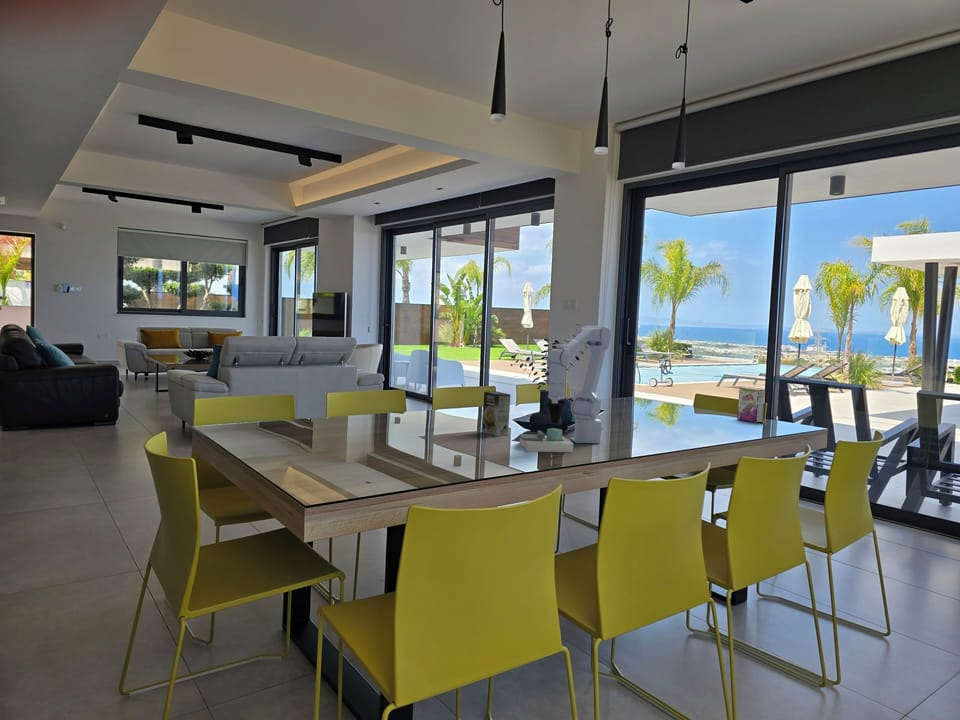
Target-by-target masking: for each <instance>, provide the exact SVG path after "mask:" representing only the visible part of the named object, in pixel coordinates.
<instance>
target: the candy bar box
mask: <svg viewBox="0 0 960 720" xmlns="http://www.w3.org/2000/svg"><path fill="white" fill-rule="evenodd" d="M765 392H766V391H765V389H761V388H755V387H749V386H740V387H739V389H738V404H737V405H738V407H737V418H736V419H737V420H739V419H740V421H744V420H745V422H749V421H750V423H754V422H756V423H755V424H758V423H757V422H762V423H763V417H764V403H765Z"/></svg>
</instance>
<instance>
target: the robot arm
mask: <svg viewBox="0 0 960 720" xmlns="http://www.w3.org/2000/svg"><path fill="white" fill-rule="evenodd" d="M611 336H612V333H611V330H610V327H609V326H608V325H590V324H589V325H588V324H585V325H584V326H582V327H581V328H580V332H579V333H578V334H577V335H576V336H575V337H574V338H567V339H565V341H564V342H563V343H562V344H560V345H559V346H558V347H557V348H552V349H550V350H549V351H548V353H547V356H546V361H547V364H548V366H547V367H548V369H549V378H548V379H549V382H548V383H549V384H548V394H547V398H548V399H550V400H549V401H547V402H546V404H547V405H546V406H547V408H548V411H549V415H550V417H549V418H550V422H551V423H550V424H558V422H559V421H560V418H561V414H562V410H563V408H564V407H563V406H564V405H565V403H566V400H565V399H568V398H569V396H568V395H566V384H567V366H569V364H570V363H571V359H572V358H573V357H574V356H575V355H576V354H578V353H579V352H580V347H582V346H583V345H584V344H585V346H586V348H588V349H589V350H590V357H589V361H588V364H587V368H586V373H585V377H584V381H583V384H582V385H583V386H582V389H581V391H579V392H578V393H576V394H574V399H573V400H572V402H571V405H570V412H571V414H572V415H573V418H574V420H575V421H574V435H573V437H570V440H572V441H573V442H574V443H577V444H601V443H602V442H601V432H602V422H601V419H600V418H598V417H599V415H600V413H601V401H602V400H601V398H600V397H599V396H598V395H597V394H596V392H597V390H598V384H599V381H600V376H601V372H602V368H603V364H604V360H605V356H606V352H607V350H608V349H609V346H610V342H611V341H610V340H611V338H612V337H611Z"/></svg>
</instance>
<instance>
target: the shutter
mask: <svg viewBox="0 0 960 720" xmlns="http://www.w3.org/2000/svg"><path fill="white" fill-rule="evenodd" d="M545 436H546V434H545V433H544V432H543V431H542V430H537V434H527V433H526V434H525V433H524V434H523V433H522V434H521V433H520V434H519V439H520V438H521V439H522V440H526V441H543V439H545Z"/></svg>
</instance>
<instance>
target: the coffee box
mask: <svg viewBox="0 0 960 720" xmlns="http://www.w3.org/2000/svg"><path fill="white" fill-rule="evenodd" d="M483 393H484V394H483V413H482V416H483V417H482V433H484V434H488V435H492V436H495V437H500V436H501V437H502V436H503V437H504V436H509V428H510V427H509V425H510V407H511V394H510V393H506V392H505V393H504V392H500V391H495V390H494V391H489V390H488V391H483Z"/></svg>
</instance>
